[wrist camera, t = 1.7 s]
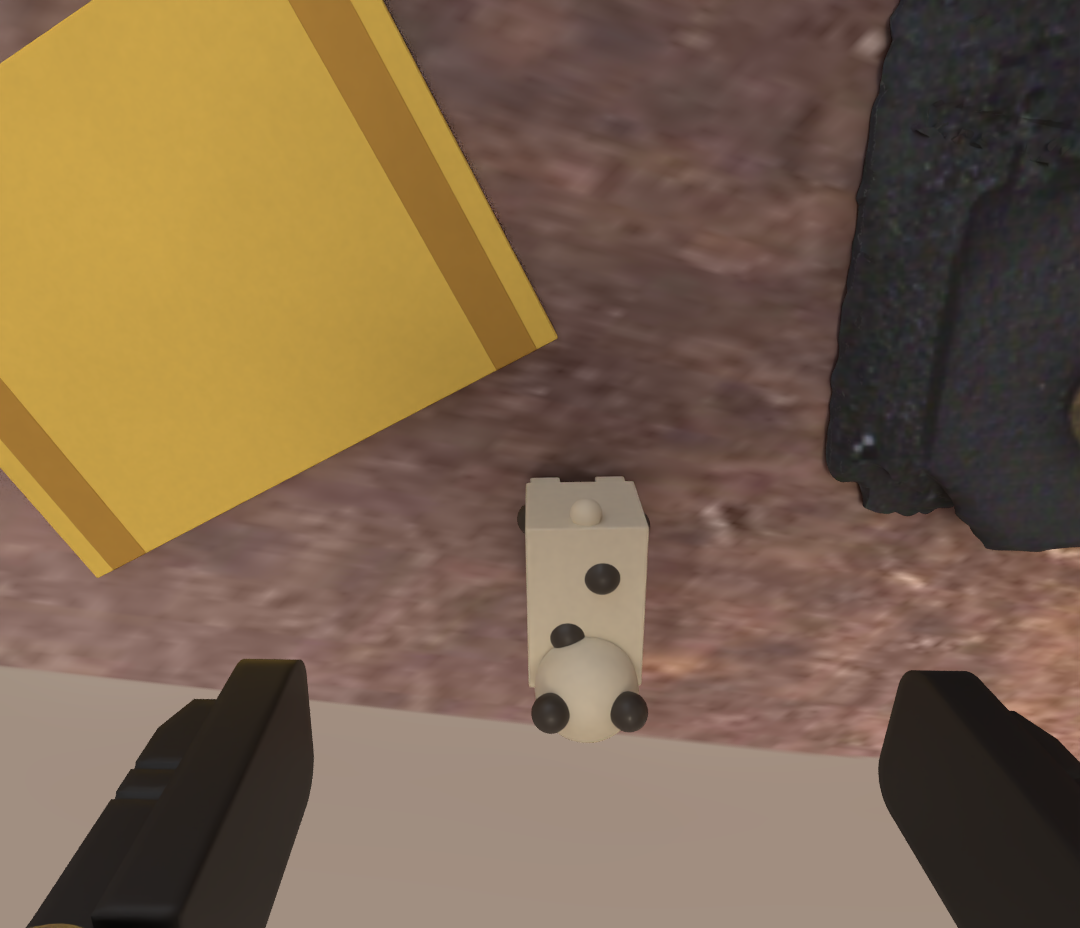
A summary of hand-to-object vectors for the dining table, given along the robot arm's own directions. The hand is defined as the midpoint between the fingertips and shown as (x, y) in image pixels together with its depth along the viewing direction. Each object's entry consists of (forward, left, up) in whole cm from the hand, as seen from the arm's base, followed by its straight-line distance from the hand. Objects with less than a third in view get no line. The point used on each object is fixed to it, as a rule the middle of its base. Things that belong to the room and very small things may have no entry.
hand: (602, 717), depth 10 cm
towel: (+11, -7, -17) cm, 21 cm away
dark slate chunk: (-18, -1, -17) cm, 25 cm away
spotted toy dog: (+1, +6, -17) cm, 18 cm away
